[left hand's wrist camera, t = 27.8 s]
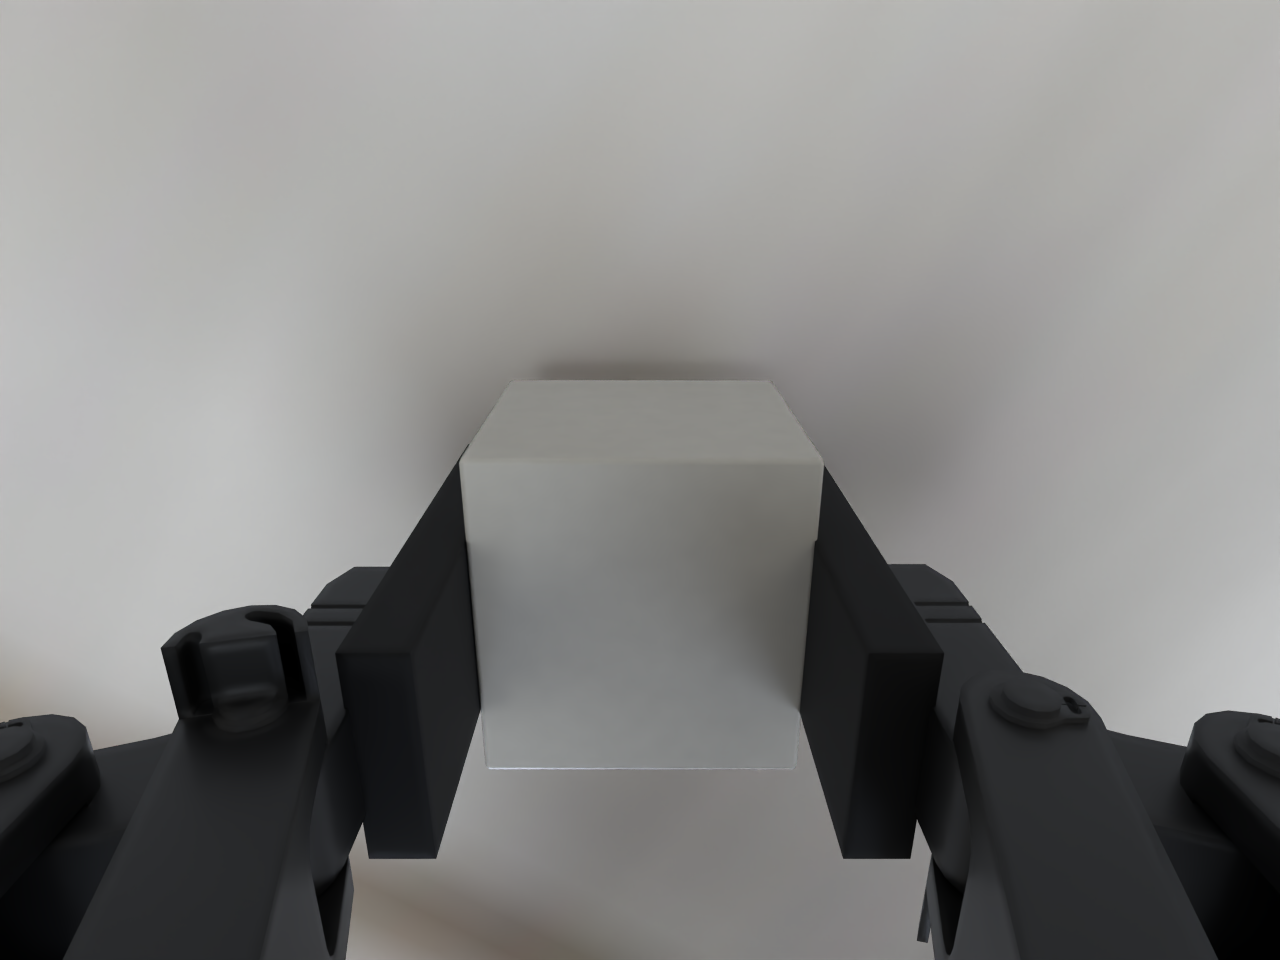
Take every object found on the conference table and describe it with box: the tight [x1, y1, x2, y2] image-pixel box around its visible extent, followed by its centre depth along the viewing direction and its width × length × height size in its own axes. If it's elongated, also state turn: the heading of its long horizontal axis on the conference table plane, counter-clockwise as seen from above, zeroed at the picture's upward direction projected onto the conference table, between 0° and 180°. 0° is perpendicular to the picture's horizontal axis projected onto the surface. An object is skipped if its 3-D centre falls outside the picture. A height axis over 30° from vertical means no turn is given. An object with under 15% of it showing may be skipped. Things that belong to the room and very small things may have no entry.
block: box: [459, 380, 824, 769], centre depth 13 cm, size 5×5×4 cm
